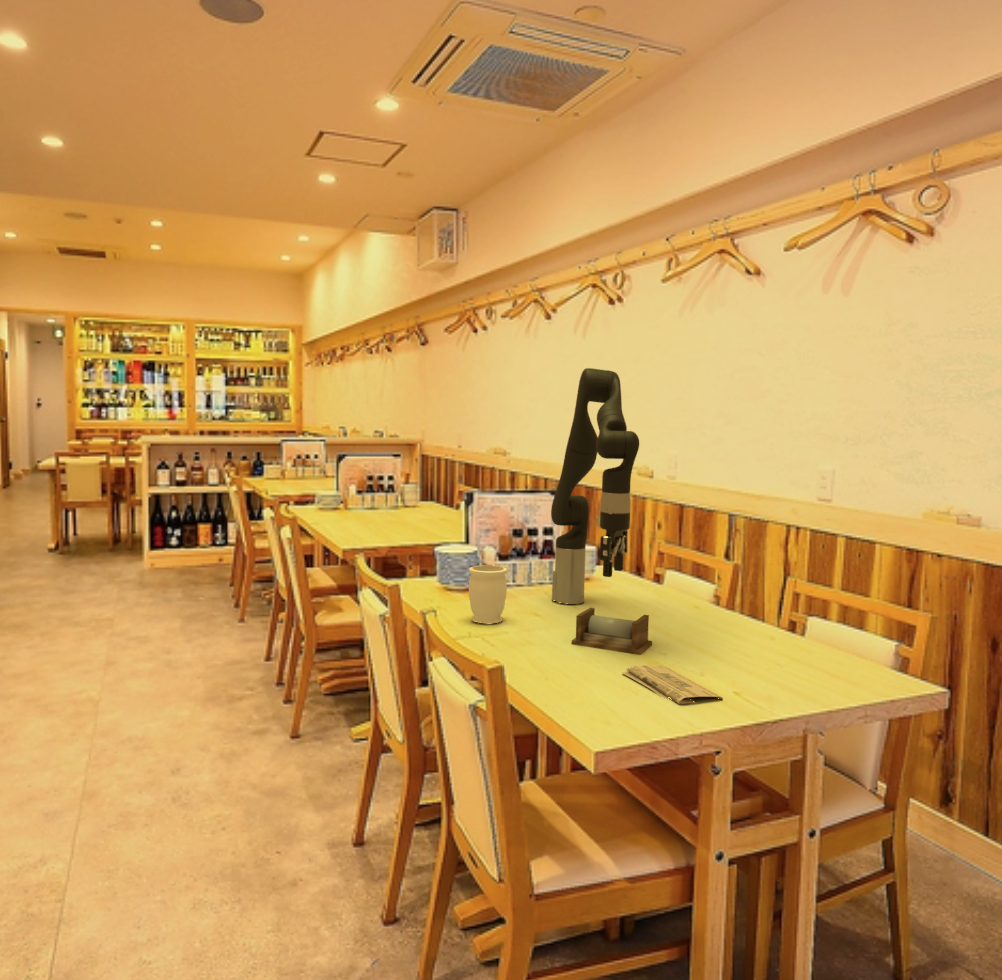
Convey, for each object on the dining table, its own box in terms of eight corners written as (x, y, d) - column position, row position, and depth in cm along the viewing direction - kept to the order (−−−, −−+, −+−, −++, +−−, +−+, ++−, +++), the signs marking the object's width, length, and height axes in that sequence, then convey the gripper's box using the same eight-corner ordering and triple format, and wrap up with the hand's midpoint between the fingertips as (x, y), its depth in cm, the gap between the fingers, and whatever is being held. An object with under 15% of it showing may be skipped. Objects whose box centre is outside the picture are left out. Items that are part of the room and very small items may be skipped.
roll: (588, 637, 203) (588, 618, 203) (595, 632, 208) (595, 612, 207) (630, 644, 198) (630, 623, 198) (636, 637, 203) (636, 618, 202)
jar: (507, 617, 228) (508, 565, 227) (504, 626, 218) (505, 572, 217) (470, 615, 229) (471, 564, 228) (465, 625, 219) (466, 571, 218)
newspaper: (618, 675, 180) (620, 664, 180) (665, 676, 185) (666, 665, 185) (673, 710, 159) (674, 697, 159) (724, 709, 164) (726, 697, 163)
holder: (571, 644, 203) (572, 615, 202) (585, 634, 212) (586, 606, 211) (640, 654, 195) (641, 624, 194) (651, 644, 204) (653, 615, 203)
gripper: (610, 506, 209) (608, 567, 210) (591, 512, 196) (589, 576, 198) (638, 508, 205) (635, 570, 207) (620, 514, 193) (618, 580, 194)
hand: (612, 573), depth 202 cm, fingers open, 8 cm apart
